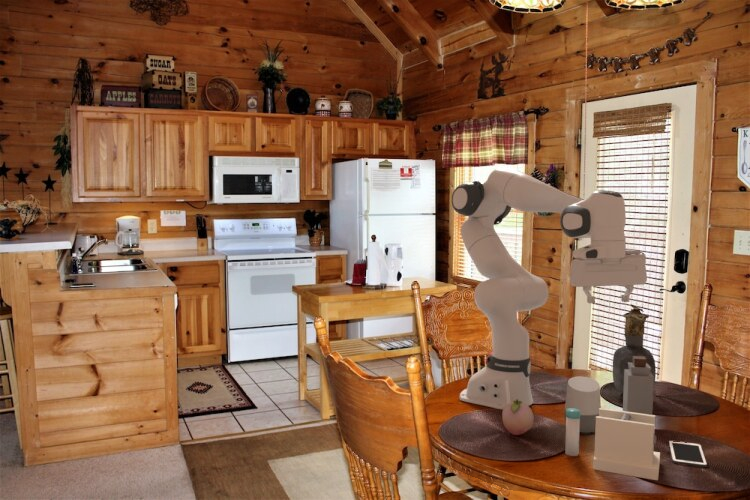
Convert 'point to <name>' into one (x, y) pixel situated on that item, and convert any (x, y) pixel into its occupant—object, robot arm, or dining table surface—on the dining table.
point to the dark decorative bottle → (631, 348)
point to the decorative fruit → (517, 417)
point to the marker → (572, 431)
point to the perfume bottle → (638, 387)
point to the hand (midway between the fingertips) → (608, 302)
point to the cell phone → (687, 453)
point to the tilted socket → (626, 444)
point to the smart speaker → (584, 401)
